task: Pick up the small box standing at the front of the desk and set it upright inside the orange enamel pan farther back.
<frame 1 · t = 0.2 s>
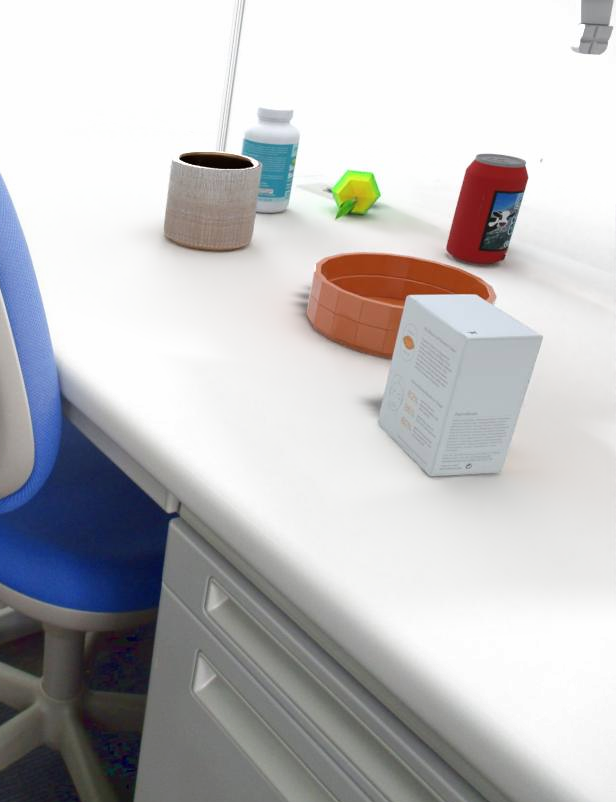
hand: (614, 61, 54), 26 cm above the table, tool pointing down, fingers open, 8 cm apart
planter: (206, 240, 107), on the table
apple: (351, 216, 121), on the table
small box: (434, 450, 64), on the table
pan: (391, 328, 84), on the table
pill bottle: (260, 208, 122), on the table
beverage can: (472, 260, 105), on the table
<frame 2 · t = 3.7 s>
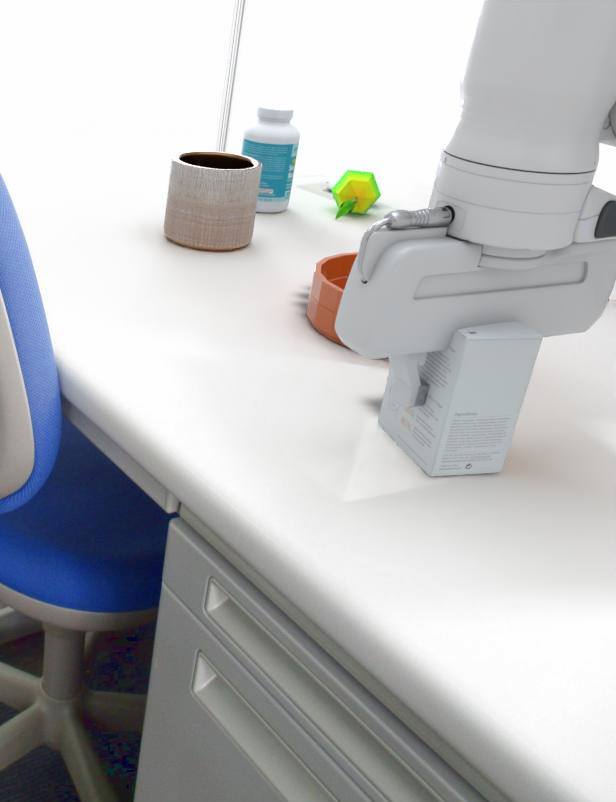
hand: (449, 397, 62), 4 cm above the table, tool pointing down, fingers closed on small box, 6 cm apart
small box: (434, 450, 64), on the table, touching gripper
everything else where it was.
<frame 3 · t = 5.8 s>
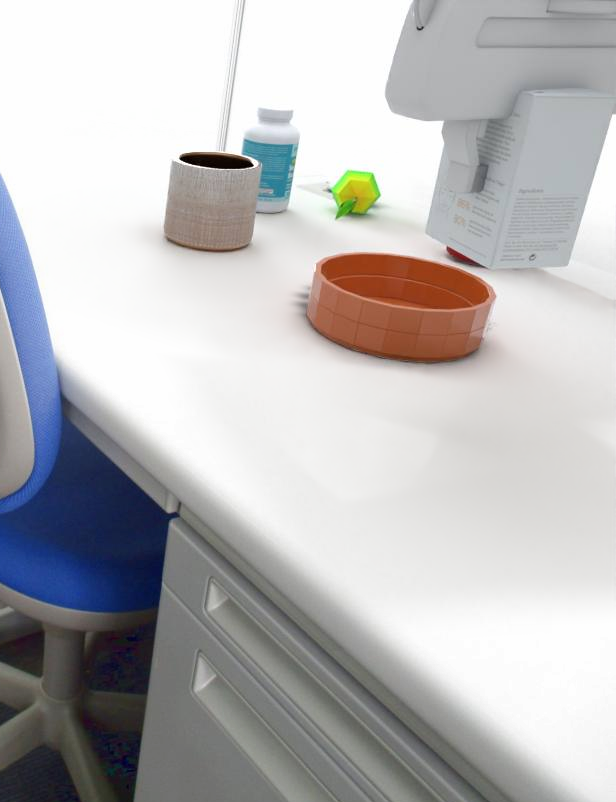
hand: (508, 188, 56), 19 cm above the table, tool pointing down, fingers closed on small box, 6 cm apart
small box: (490, 253, 58), point 14 cm above the table, touching gripper
everything else where it was.
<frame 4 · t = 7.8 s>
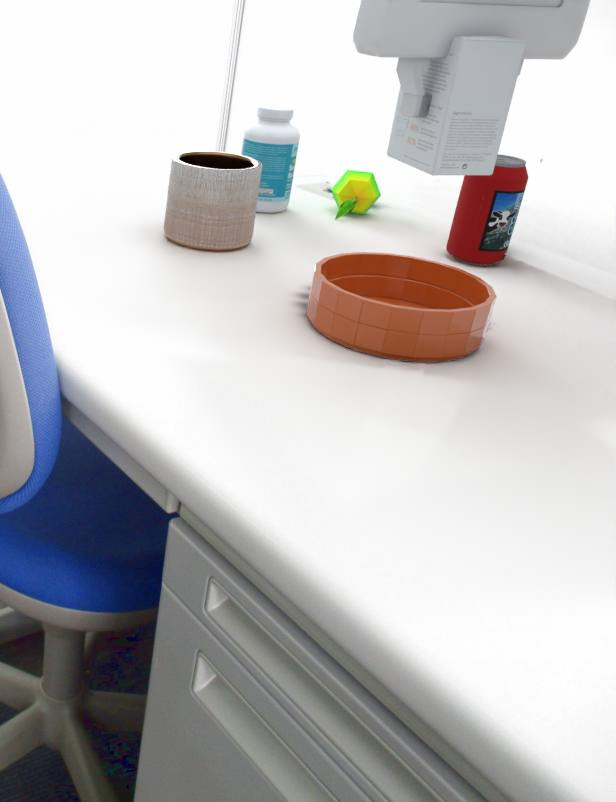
hand: (448, 116, 73), 20 cm above the table, tool pointing down, fingers closed on small box, 6 cm apart
small box: (435, 168, 75), point 16 cm above the table, touching gripper
everything else where it was.
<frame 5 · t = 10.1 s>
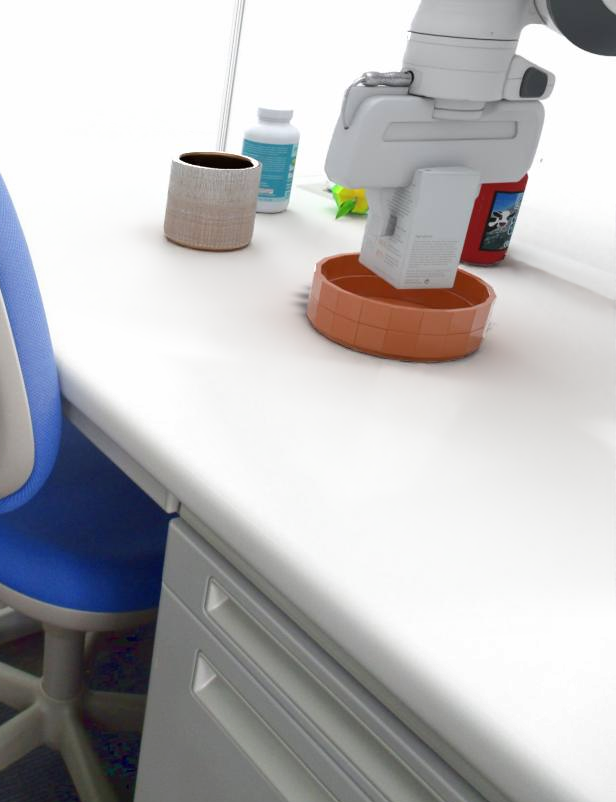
hand: (413, 232, 80), 9 cm above the table, tool pointing down, fingers closed on small box, 6 cm apart
small box: (402, 277, 82), point 5 cm above the table, touching gripper
everything else where it was.
when the fingers open (5 cm above the table, at t = 11.9 s): small box stays where it is, resting on pan.
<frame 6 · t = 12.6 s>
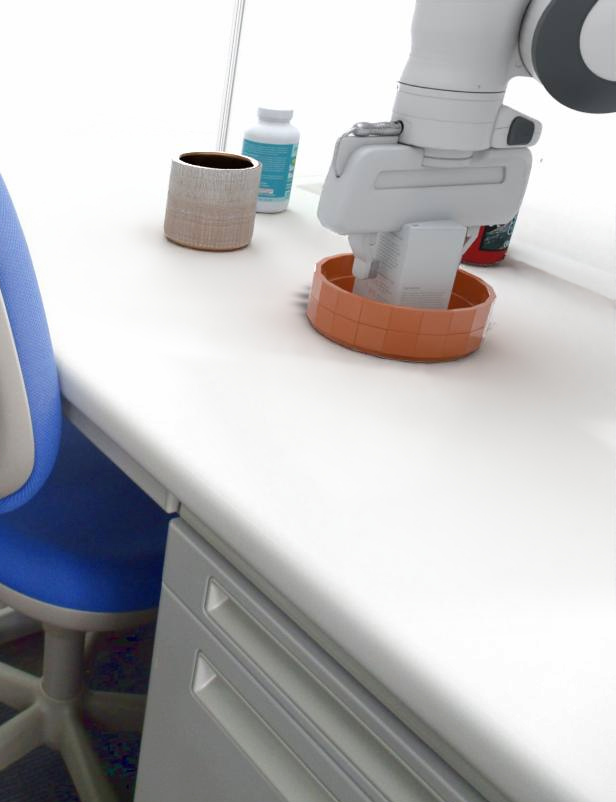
hand: (405, 273, 81), 6 cm above the table, tool pointing down, fingers open, 8 cm apart
small box: (391, 324, 84), resting on pan
everything else where it was.
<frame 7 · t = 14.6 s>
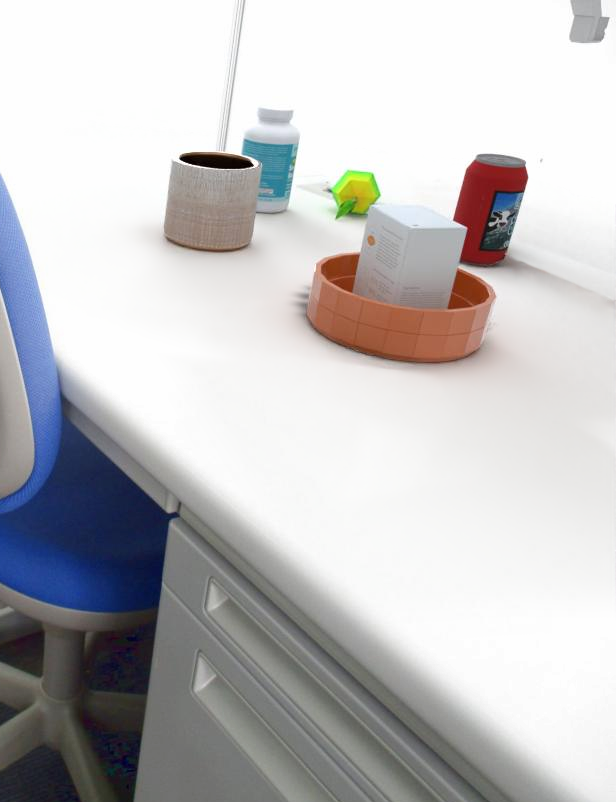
nothing on the table moved.
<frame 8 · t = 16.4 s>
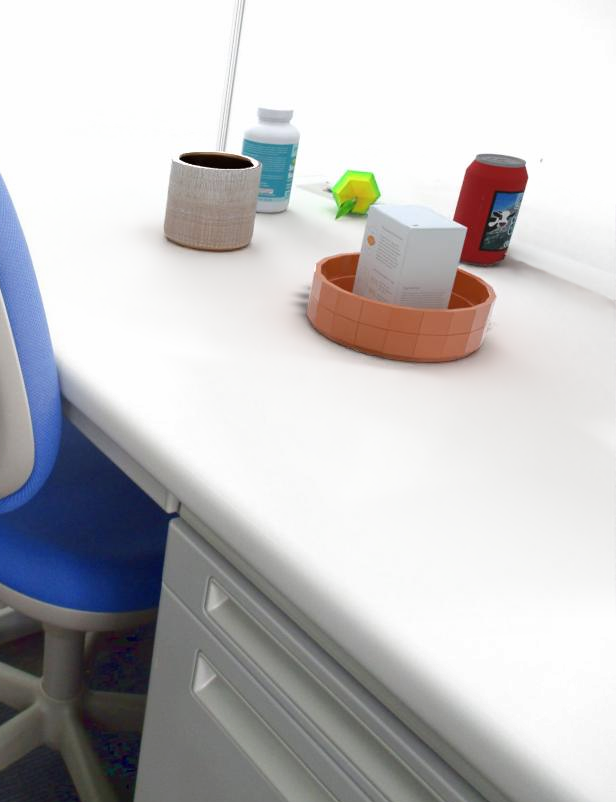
nothing on the table moved.
at the end: small box inside the target area in the pan (0.0 cm from its centre), point 0.4 cm above the pan's base; small box tilted 0°; the gripper is holding nothing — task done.
